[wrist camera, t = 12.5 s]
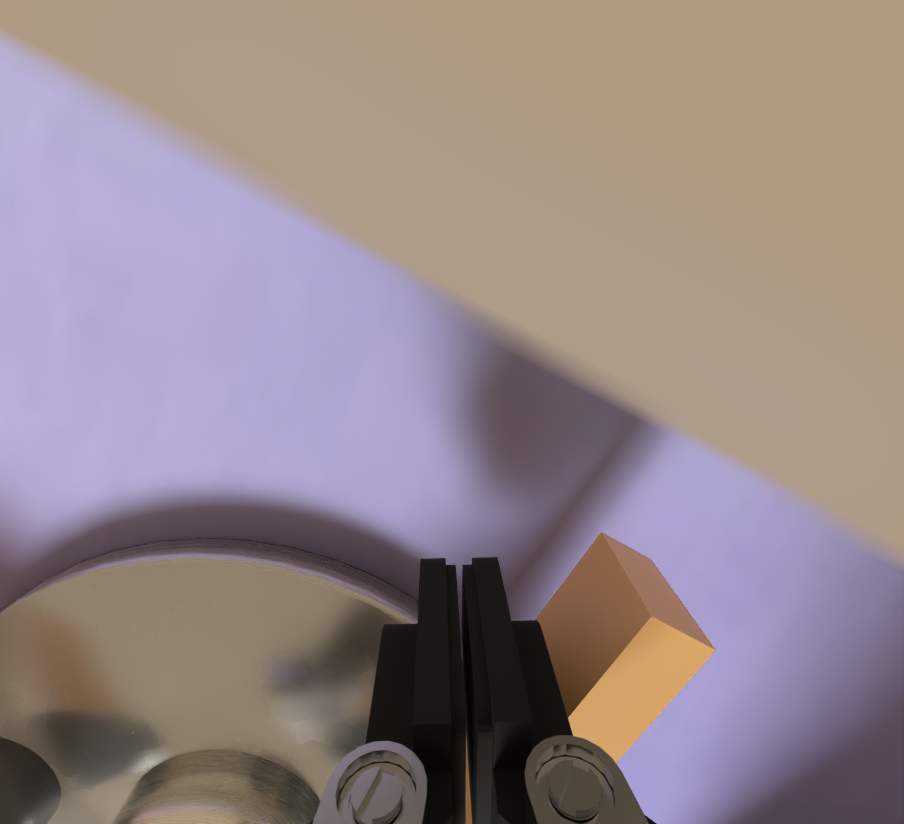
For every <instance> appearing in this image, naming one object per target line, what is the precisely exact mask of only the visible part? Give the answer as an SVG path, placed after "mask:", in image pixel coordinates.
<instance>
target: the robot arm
mask: <svg viewBox="0 0 904 824" xmlns="http://www.w3.org/2000/svg"><path fill="white" fill-rule="evenodd" d="M466 739H467V754H468V769H469V784H470V799H471V814H472V824H656V823H655V822H653V821H652V820H651V819H649V818H648V817H647V816H645V815H644V813H643V812H642V810H641V808H640V806H639V804H638V802H637V800H636V798H635V796H634V794H633V792H632V790H631V789H630V787H629V785H628V783H627V781H626V779H625V777H624V775H623V773H622V771H621V770H620V769H619V767H618V766H617V764H616V763H615V761H614V760H613V758H612V757H611V756H610V755H608V754H607V753H606V752H605V751H604V750H603V749H602V748H601V747H599V746H598V745H596V744H594V743H592V742H590V741H588V740H586V739H584V738H580V737H576V736H573V733H572V730H571V727H570V723H569V720H568V716H567V713H566V710H565V706H564V703H563V699H562V696H561V693H560V689H559V686H558V683H557V679H556V676H555V672H554V669H553V666H552V662H551V659H550V655H549V652H548V649H547V645H546V642H545V638H544V635H543V632H542V628H541V626H540V623H539V622H538V621H537V620H535V621H511V617H510V613H509V608H508V604H507V599H506V594H505V590H504V585H503V580H502V576H501V571H500V566H499V562H498V558H497V557H486V558H472V565H463V571H462V653H461V638H460V624H459V609H458V594H457V579H456V565H446V559H445V558H438V559H421V563H420V583H419V603H418V622H417V623H416V624H384V625H383V629H382V634H381V641H380V648H379V655H378V661H377V668H376V675H375V682H374V689H373V695H372V702H371V709H370V716H369V723H368V729H367V736H366V743H365V745H362V746H359V747H358V748H356V749H355V750H353V751H352V752H350V753H349V754H347V755H346V756H345V757H344V758H343V759H342V760H341V761H340V763H339V764H338V765H337V766H336V767H335V769H334V770H333V772H332V774H331V776H330V778H329V780H328V782H327V785H326V788H325V790H324V793H323V796H322V799H321V802H320V804H319V807H318V810H317V813H316V816H315V818H314V819H313V820H312V821H311V822H310V823H309V824H466Z"/></svg>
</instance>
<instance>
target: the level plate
mask: <svg viewBox="0 0 904 824" xmlns="http://www.w3.org/2000/svg"><path fill="white" fill-rule="evenodd" d="M417 622H418V602H417V601H416V600H414V599H413V598H411V597H410V596H409V595H407V594H405V593H403V592H402V591H400V590H398V589H396V588H394V587H393V586H391V585H389V584H387V583H385V582H384V581H382V580H380V579H378V578H376V577H375V576H373V575H370V574H368V573H366V572H363V571H361V570H358V569H356V568H353V567H351V566H348V565H346V564H343V563H341V562H339V561H336V560H334V559H330V558H327V557H323V556H320V555H316V554H313V553H309V552H306V551H302V550H298V549H295V548H291V547H285V546H279V545H273V544H267V543H261V542H255V541H248V540H229V539H208V538H202V539H187V540H172V541H160V542H155V543H149V544H144V545H139V546H134V547H128V548H123V549H119V550H116V551H113V552H110V553H107V554H104V555H101V556H98V557H95V558H92V559H88V560H85V561H82V562H80V563H78V564H76V565H74V566H72V567H70V568H68V569H66V570H64V571H62V572H60V573H58V574H56V575H54V576H52V577H50V578H48V579H46V580H45V581H43V582H42V583H40V584H39V585H38V586H36V587H35V588H33V589H32V590H30V591H29V592H27V593H26V594H24V595H23V596H22V597H20V598H19V599H17V600H16V601H15V602H13V603H12V604H11V605H9V606H8V607H7V608H6V609H4V610H3V611H2V612H0V737H2V738H5V739H9V740H12V741H14V742H17V743H19V744H21V745H23V746H25V747H27V748H29V749H30V750H32V751H33V752H35V753H36V754H37V755H39V756H40V757H41V758H42V759H43V760H44V761H45V762H46V763H47V764H48V765H49V766H50V767H51V768H52V770H53V771H54V773H55V775H56V776H57V779H58V781H59V784H60V788H61V799H60V803H59V806H58V808H57V810H56V812H55V813H54V815H53V816H52V817H51V819H50V820H49V821H48V823H47V824H309V823H310V822H311V821H312V820H313V819H314V818H315V816H316V813H317V810H318V807H319V804H320V802H321V799H322V796H323V793H324V790H325V788H326V785H327V782H328V780H329V778H330V776H331V774H332V772H333V770H334V769H335V767H336V766H337V765H338V764H339V763H340V761H341V760H342V759H343V758H344V757H345V756H346V755H347V754H349V753H350V752H352V751H353V750H355V749H356V748H358V747H359V746H362V745H365V743H366V736H367V729H368V723H369V716H370V709H371V702H372V695H373V689H374V682H375V675H376V668H377V661H378V655H379V648H380V641H381V634H382V629H383V625H384V624H416V623H417ZM461 653H462V639H461Z"/></svg>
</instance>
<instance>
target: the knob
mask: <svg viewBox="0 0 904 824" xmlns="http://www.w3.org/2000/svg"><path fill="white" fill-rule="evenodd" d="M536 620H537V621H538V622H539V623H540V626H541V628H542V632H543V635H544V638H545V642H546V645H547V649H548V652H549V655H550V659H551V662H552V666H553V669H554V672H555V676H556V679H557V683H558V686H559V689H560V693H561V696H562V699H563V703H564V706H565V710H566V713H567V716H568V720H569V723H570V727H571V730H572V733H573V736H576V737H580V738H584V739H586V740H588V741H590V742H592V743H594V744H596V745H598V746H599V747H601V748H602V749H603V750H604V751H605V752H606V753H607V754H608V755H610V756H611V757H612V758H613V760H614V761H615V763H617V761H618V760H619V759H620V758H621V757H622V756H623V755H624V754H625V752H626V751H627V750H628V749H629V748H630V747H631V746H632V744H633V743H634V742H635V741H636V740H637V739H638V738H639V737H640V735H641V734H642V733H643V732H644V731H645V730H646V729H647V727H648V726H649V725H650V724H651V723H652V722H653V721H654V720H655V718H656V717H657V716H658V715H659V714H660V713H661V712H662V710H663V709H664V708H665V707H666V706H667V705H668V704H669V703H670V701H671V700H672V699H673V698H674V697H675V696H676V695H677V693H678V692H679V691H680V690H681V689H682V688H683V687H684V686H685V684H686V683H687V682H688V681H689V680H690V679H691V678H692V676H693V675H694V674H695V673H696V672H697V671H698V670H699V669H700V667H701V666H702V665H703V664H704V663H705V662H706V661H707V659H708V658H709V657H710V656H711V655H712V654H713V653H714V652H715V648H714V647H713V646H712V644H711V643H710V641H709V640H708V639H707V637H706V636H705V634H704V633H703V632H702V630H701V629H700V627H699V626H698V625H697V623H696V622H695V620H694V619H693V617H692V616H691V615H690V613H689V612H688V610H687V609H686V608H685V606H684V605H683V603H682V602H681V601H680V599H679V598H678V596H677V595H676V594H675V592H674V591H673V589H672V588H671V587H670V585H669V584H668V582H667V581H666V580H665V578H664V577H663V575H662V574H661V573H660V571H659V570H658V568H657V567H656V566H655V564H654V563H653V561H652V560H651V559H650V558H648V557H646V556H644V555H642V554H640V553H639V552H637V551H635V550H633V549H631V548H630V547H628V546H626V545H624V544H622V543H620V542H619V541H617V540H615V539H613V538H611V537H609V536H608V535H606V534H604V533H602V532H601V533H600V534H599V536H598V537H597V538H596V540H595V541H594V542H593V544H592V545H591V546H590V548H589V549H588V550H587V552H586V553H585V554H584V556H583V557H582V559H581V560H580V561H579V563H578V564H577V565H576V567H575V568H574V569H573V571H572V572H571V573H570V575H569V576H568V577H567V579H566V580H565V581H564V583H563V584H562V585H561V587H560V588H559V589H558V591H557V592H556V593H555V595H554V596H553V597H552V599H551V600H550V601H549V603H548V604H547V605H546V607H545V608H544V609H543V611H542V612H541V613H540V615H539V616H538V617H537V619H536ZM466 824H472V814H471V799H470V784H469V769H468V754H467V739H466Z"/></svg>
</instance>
